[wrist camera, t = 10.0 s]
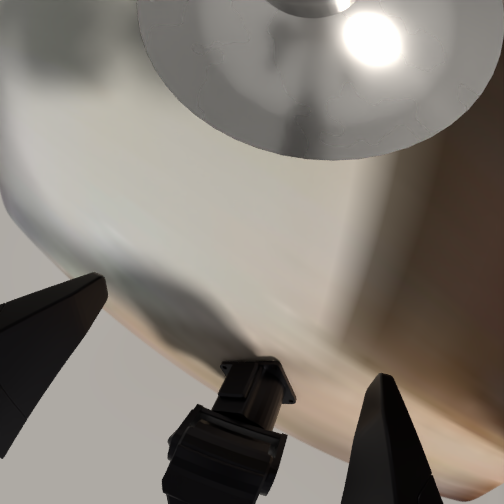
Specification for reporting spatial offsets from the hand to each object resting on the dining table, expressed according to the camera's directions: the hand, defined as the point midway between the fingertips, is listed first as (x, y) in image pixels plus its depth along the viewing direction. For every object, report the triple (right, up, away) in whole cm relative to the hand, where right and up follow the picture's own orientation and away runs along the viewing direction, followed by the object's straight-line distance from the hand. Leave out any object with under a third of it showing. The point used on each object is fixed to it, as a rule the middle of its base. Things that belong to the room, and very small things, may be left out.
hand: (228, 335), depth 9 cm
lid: (+2, +11, -2) cm, 11 cm away
